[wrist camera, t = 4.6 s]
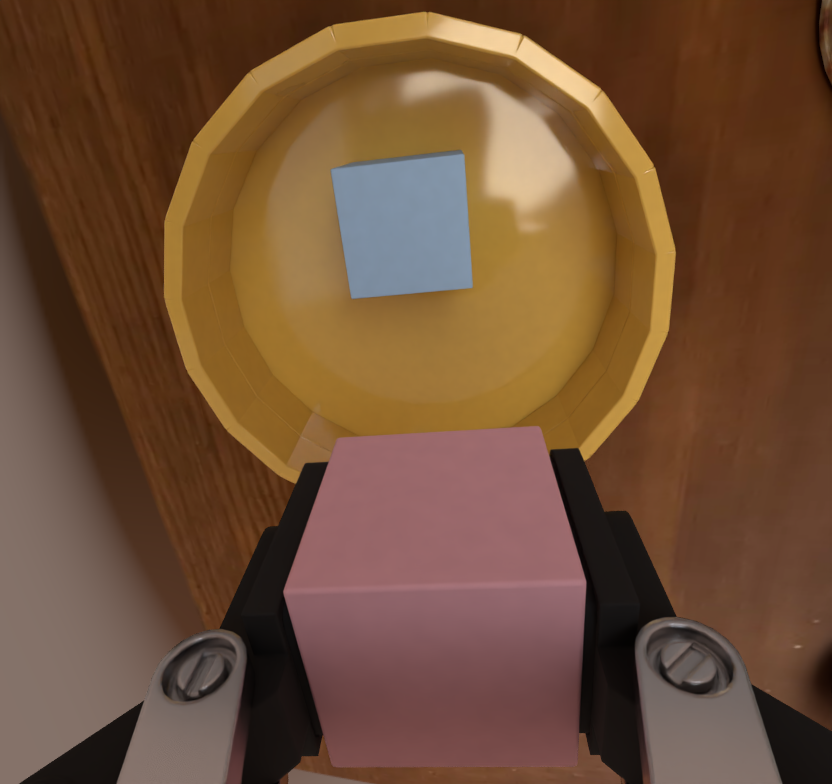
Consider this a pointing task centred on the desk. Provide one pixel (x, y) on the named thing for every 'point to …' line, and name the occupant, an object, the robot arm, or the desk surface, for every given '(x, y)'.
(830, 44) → the seashell
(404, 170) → the toy blue
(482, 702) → the toy pink
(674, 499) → the desk surface
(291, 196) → the bowl
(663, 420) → the desk surface
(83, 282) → the desk surface
